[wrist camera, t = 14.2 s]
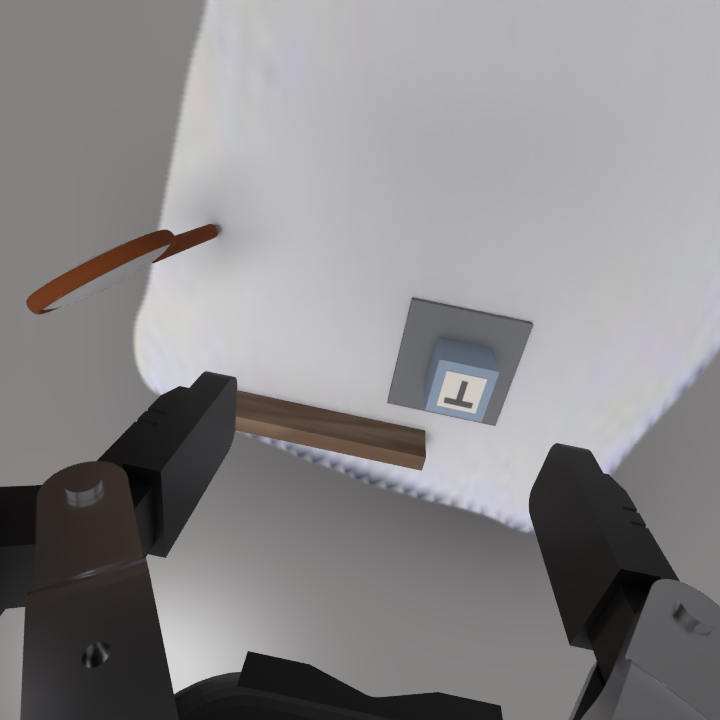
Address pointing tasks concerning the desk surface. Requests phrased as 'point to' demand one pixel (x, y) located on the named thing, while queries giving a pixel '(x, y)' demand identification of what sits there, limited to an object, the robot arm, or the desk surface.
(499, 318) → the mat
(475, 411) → the letter cube
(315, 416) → the bar
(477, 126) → the desk surface
